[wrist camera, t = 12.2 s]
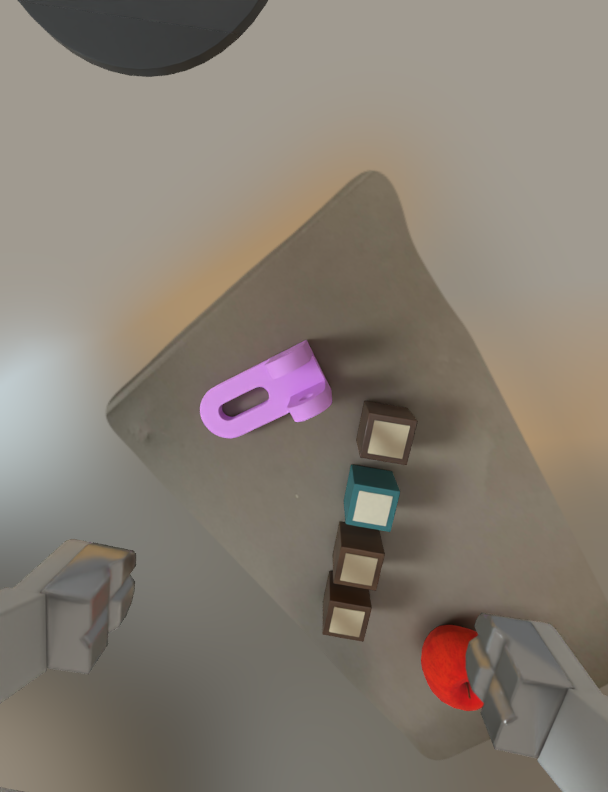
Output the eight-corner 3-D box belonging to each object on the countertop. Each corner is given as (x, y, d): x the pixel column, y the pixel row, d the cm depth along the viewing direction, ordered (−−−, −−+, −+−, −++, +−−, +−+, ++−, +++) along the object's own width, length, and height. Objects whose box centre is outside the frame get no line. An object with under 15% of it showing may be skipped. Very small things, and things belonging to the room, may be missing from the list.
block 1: (339, 521, 41) (341, 547, 36) (378, 528, 41) (385, 554, 36) (332, 555, 42) (333, 584, 37) (370, 561, 42) (376, 591, 37)
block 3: (364, 400, 37) (369, 412, 33) (407, 407, 37) (418, 421, 33) (356, 440, 38) (359, 457, 34) (397, 447, 38) (407, 466, 34)
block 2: (329, 570, 42) (329, 601, 38) (367, 577, 42) (372, 608, 38) (322, 602, 43) (322, 635, 39) (359, 608, 43) (363, 642, 39)
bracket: (306, 339, 36) (301, 347, 29) (331, 389, 37) (332, 407, 30) (194, 396, 38) (166, 415, 31) (221, 441, 39) (199, 470, 32)
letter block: (351, 464, 39) (354, 484, 35) (392, 471, 39) (400, 492, 34) (343, 501, 40) (345, 525, 36) (383, 508, 40) (390, 532, 36)
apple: (475, 599, 42) (506, 660, 35) (489, 654, 44) (521, 722, 36) (406, 613, 43) (423, 675, 36) (422, 666, 45) (440, 735, 37)
